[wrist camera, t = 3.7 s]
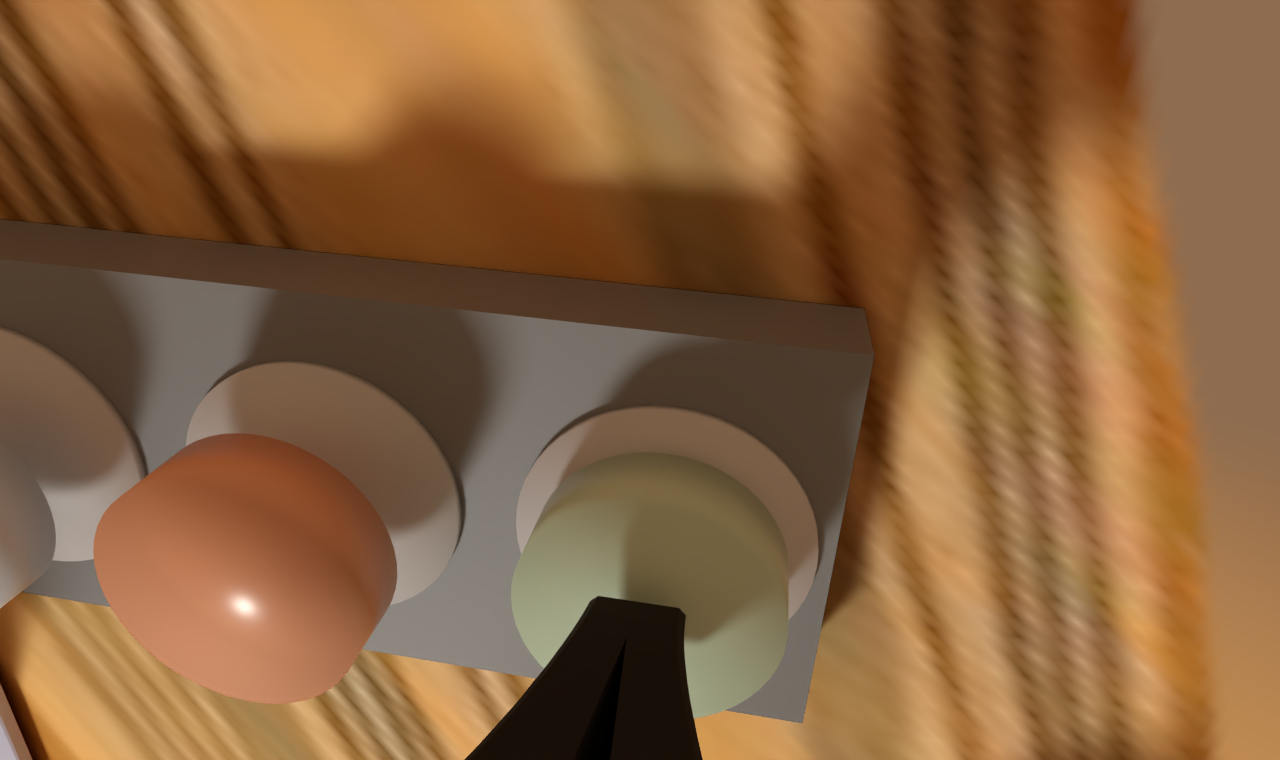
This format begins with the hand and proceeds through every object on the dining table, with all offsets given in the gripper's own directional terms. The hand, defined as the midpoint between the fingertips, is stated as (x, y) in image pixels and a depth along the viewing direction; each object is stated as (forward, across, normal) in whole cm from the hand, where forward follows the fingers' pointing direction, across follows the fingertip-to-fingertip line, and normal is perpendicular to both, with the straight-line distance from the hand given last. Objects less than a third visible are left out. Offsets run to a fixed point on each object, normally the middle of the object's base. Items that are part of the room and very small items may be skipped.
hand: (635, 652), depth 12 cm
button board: (+5, +6, 0) cm, 8 cm away
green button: (+2, 0, 0) cm, 2 cm away
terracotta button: (+1, +6, 0) cm, 7 cm away
